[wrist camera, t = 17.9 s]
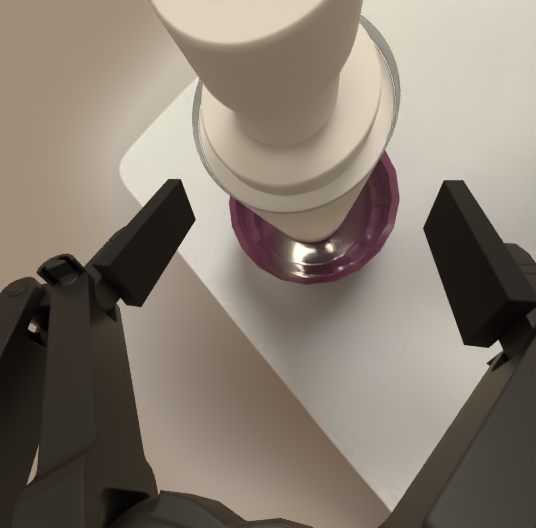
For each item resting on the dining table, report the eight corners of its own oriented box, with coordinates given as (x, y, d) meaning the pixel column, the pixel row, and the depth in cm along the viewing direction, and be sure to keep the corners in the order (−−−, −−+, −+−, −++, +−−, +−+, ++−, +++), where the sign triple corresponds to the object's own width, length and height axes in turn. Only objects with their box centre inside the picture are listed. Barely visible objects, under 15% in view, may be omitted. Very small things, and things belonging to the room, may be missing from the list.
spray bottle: (266, 206, 27) (-184, -216, 3) (317, 165, 26) (272, -1117, 2) (303, 256, 27) (120, 244, 2) (357, 216, 26) (1205, -717, 1)
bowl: (284, 123, 27) (275, 90, 22) (410, 179, 25) (434, 157, 20) (225, 240, 29) (204, 236, 24) (338, 303, 27) (342, 314, 21)
